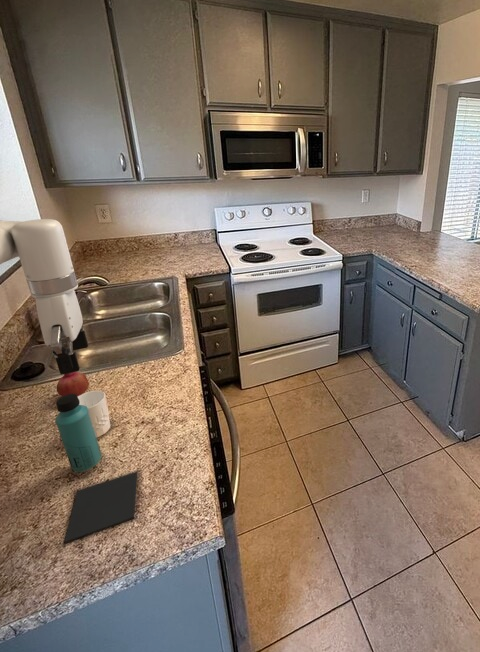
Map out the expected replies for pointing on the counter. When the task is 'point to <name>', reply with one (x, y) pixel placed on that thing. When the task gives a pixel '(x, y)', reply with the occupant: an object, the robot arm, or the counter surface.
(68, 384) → the fruit
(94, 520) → the corner mat
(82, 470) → the beverage bottle
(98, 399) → the white cup
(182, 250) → the counter surface
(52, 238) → the robot arm
